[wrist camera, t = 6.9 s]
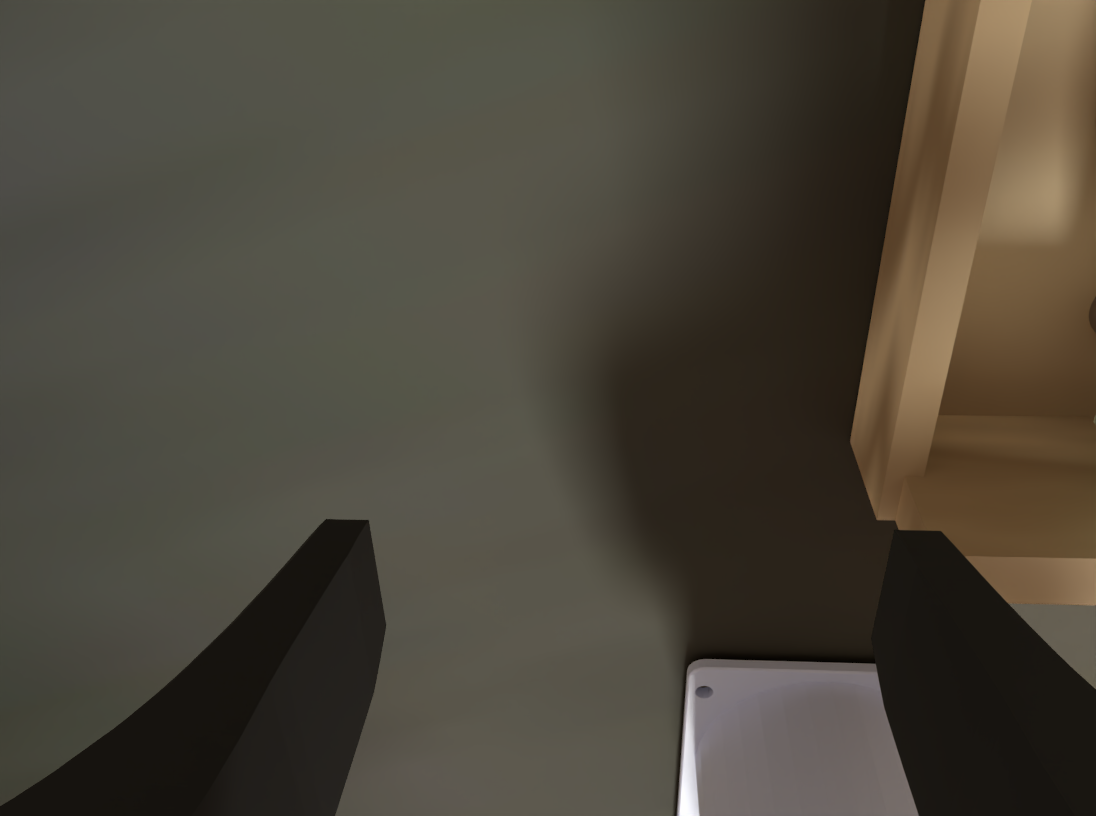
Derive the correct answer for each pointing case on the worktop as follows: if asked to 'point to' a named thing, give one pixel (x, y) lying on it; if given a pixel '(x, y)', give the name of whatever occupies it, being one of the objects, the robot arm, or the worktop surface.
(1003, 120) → the peg cradle
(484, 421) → the worktop surface
